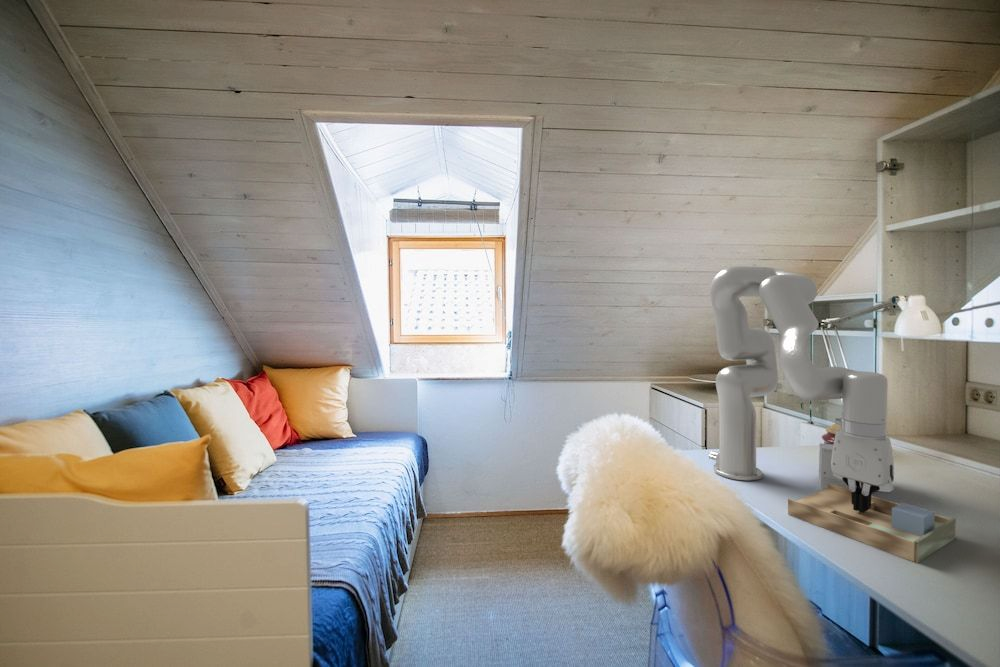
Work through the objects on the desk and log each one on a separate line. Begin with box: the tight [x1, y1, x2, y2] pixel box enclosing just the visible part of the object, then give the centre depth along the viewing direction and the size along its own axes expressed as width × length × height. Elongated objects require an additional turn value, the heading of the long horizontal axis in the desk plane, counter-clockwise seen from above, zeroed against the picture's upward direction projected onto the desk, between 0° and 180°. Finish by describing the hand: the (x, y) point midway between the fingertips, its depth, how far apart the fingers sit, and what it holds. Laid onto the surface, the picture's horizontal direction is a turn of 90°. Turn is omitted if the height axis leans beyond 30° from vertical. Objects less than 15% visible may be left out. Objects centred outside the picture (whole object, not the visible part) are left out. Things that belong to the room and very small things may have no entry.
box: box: [787, 483, 957, 564], centre depth 96 cm, size 23×18×4 cm
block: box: [891, 502, 936, 537], centre depth 89 cm, size 5×5×4 cm
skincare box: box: [817, 442, 849, 492], centre depth 113 cm, size 6×4×12 cm
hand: (861, 509), depth 97 cm, fingers closed
